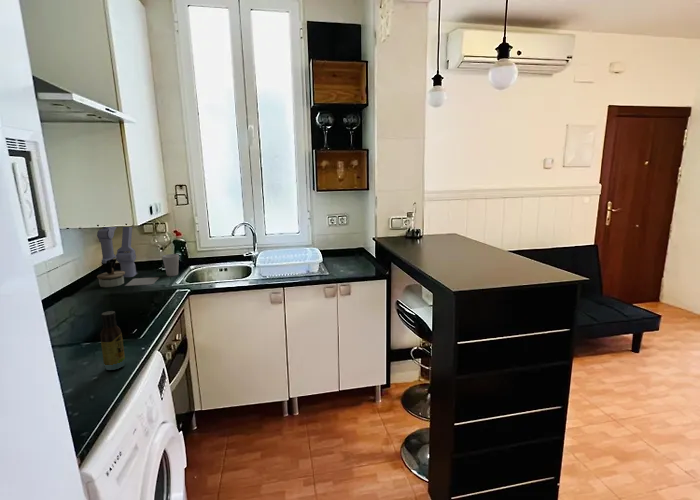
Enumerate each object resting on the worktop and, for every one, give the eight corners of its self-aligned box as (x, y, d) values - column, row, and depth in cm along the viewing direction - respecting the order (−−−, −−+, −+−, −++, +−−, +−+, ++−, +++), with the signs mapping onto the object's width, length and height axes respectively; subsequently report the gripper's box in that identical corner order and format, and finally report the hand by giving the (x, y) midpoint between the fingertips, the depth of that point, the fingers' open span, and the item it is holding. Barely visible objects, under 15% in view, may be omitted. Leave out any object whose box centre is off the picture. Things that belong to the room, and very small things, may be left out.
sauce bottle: (124, 370, 130) (116, 315, 126) (103, 373, 128) (94, 317, 124) (127, 361, 136) (120, 308, 132) (107, 364, 134) (99, 311, 130)
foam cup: (174, 277, 239) (172, 257, 237) (161, 277, 241) (159, 256, 238) (183, 273, 248) (181, 254, 246) (170, 273, 250) (168, 253, 247)
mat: (133, 279, 236) (133, 278, 236) (159, 277, 239) (159, 277, 239) (124, 286, 222) (124, 285, 222) (152, 285, 225) (152, 284, 225)
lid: (102, 273, 229) (101, 266, 228) (128, 271, 232) (127, 264, 231) (93, 279, 216) (91, 272, 215) (120, 277, 219) (119, 270, 218)
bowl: (105, 282, 230) (104, 275, 229) (127, 281, 232) (126, 274, 231) (96, 288, 218) (95, 280, 217) (119, 287, 221) (118, 279, 220)
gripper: (110, 252, 215) (113, 275, 218) (119, 247, 229) (122, 269, 231) (96, 252, 213) (99, 276, 216) (106, 247, 227) (109, 269, 230)
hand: (110, 272), depth 224 cm, fingers closed on lid, 3 cm apart
